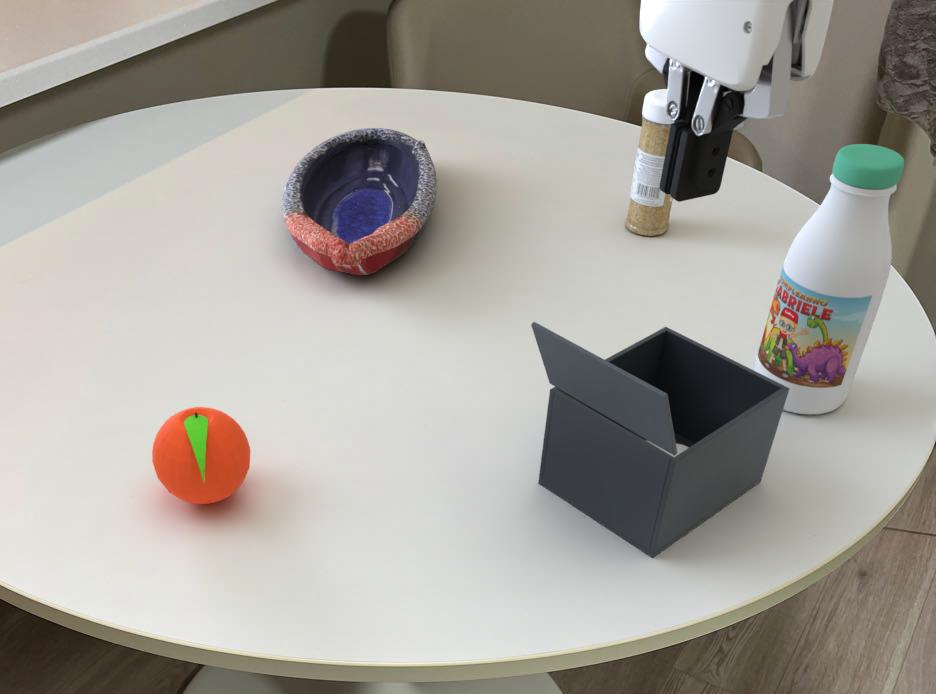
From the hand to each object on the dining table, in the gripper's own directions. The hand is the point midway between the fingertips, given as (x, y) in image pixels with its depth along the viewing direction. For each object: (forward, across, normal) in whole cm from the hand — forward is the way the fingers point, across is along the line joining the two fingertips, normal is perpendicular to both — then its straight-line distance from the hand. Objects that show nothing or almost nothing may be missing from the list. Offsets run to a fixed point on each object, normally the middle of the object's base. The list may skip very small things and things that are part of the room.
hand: (688, 191), depth 62 cm
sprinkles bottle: (+24, +35, -27) cm, 50 cm away
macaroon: (+23, +1, -4) cm, 23 cm away
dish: (+24, +49, -1) cm, 54 cm away
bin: (+23, +1, -3) cm, 23 cm away
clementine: (+24, +13, +28) cm, 39 cm away
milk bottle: (+24, +5, -21) cm, 32 cm away
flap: (+11, -1, +5) cm, 13 cm away
